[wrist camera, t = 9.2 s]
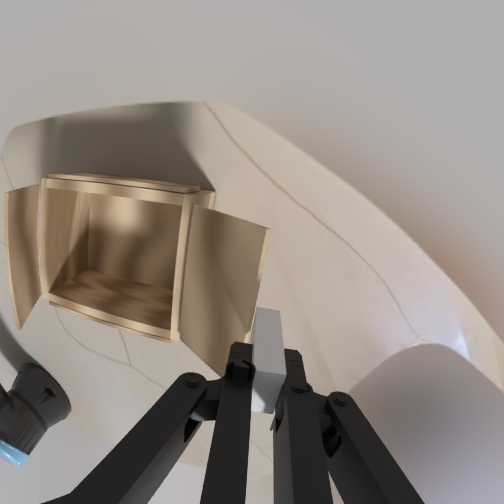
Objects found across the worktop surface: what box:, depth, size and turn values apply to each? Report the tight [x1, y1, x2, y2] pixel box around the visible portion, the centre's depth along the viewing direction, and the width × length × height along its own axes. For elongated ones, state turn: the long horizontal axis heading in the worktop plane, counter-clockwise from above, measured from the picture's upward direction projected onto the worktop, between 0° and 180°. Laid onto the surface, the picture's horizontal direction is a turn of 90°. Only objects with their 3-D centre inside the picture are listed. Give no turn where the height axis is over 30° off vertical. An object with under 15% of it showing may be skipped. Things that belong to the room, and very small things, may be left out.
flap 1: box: [4, 184, 41, 330], centre depth 20 cm, size 8×13×1 cm
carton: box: [39, 173, 216, 343], centre depth 29 cm, size 18×15×10 cm
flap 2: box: [180, 205, 271, 378], centre depth 21 cm, size 8×13×1 cm
